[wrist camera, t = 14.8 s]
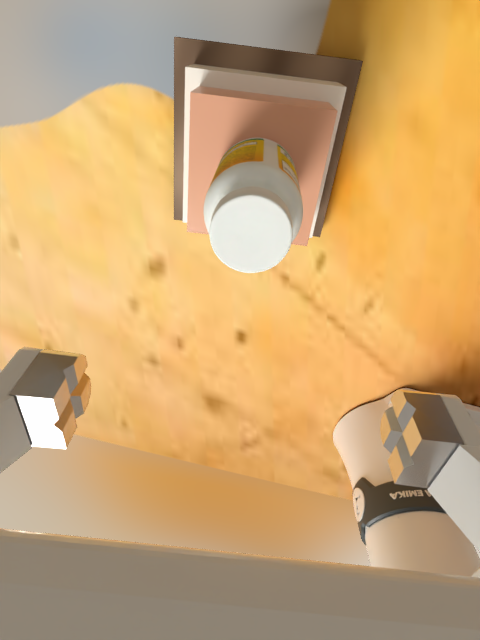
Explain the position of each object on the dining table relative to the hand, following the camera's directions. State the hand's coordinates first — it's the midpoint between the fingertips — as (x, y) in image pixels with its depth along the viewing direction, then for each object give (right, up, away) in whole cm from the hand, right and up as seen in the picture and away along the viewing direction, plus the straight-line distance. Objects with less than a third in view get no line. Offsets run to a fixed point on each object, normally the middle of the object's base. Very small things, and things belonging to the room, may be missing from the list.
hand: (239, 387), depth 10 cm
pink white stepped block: (+1, +16, +22) cm, 28 cm away
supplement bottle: (+1, +11, +16) cm, 20 cm away
